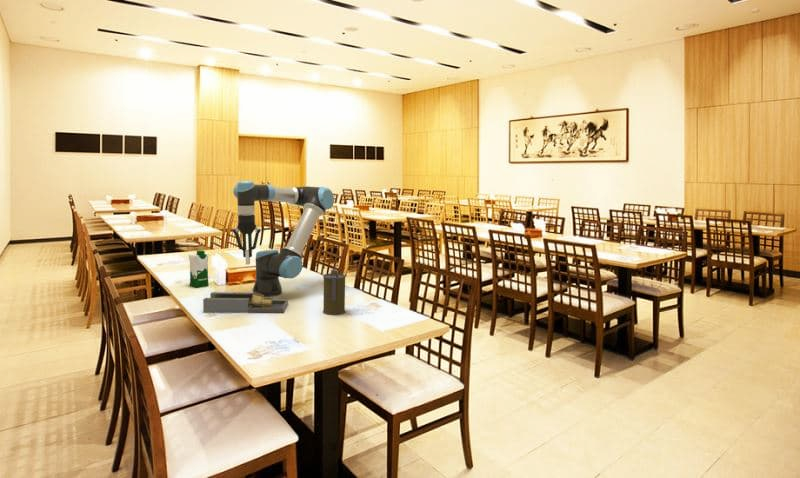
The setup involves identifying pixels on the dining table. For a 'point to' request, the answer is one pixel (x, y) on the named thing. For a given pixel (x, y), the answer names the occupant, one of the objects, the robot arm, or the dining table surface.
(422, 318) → the dining table surface
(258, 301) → the brass block
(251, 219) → the robot arm
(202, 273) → the milk carton
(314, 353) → the dining table surface
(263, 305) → the brass block
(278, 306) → the tray
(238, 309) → the slot plate
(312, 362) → the dining table surface
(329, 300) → the canister
